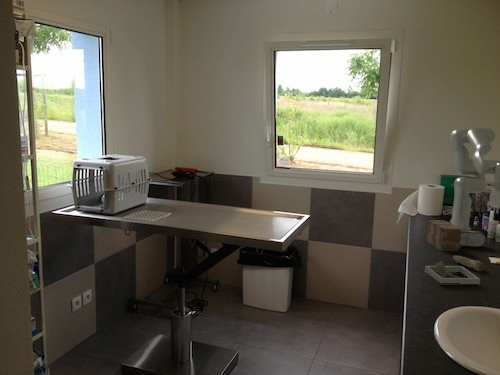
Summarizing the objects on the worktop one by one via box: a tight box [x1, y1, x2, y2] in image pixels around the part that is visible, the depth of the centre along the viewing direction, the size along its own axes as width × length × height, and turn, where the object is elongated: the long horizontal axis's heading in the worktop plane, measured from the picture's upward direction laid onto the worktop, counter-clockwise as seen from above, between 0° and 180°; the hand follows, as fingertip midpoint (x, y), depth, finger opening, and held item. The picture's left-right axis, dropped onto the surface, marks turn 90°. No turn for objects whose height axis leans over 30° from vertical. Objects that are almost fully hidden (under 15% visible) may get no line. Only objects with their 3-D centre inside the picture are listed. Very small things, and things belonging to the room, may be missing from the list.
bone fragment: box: [452, 254, 485, 272], centre depth 211 cm, size 14×6×5 cm, turn 29°
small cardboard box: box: [425, 219, 463, 252], centre depth 240 cm, size 17×13×12 cm
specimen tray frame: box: [424, 265, 481, 285], centre depth 195 cm, size 15×17×3 cm
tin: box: [459, 229, 487, 248], centre depth 241 cm, size 15×3×8 cm, turn 84°
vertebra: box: [434, 260, 460, 278], centre depth 195 cm, size 12×8×10 cm
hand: (496, 220), depth 240 cm, fingers closed
